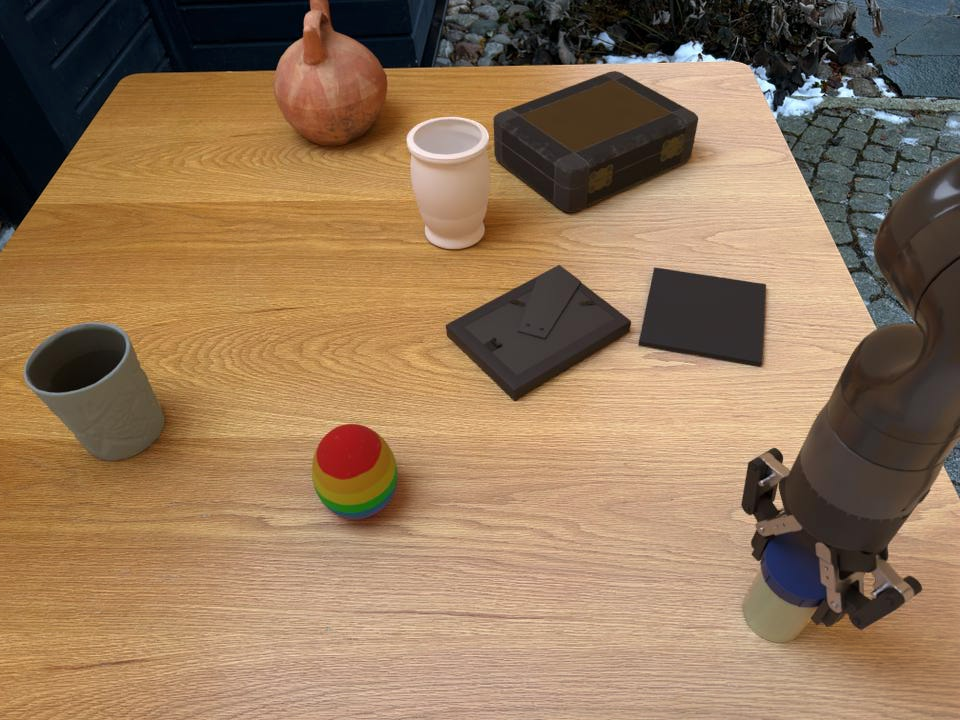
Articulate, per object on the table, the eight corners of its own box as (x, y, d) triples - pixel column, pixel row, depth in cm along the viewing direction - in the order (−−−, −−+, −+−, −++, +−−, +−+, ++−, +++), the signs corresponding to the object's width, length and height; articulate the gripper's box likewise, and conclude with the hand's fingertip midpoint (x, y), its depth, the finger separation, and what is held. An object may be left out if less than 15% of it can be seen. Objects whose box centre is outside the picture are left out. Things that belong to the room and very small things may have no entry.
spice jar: (804, 592, 67) (837, 544, 59) (803, 649, 63) (838, 605, 56) (744, 578, 68) (769, 529, 61) (740, 634, 64) (766, 588, 57)
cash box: (609, 109, 127) (613, 65, 122) (695, 160, 115) (704, 114, 110) (487, 157, 118) (486, 111, 113) (567, 218, 106) (570, 171, 101)
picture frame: (558, 276, 98) (446, 335, 91) (558, 262, 96) (445, 322, 89) (629, 332, 90) (514, 401, 83) (631, 318, 89) (514, 388, 82)
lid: (798, 526, 62) (803, 517, 61) (854, 583, 58) (861, 575, 57) (744, 560, 60) (749, 551, 59) (799, 622, 57) (805, 613, 55)
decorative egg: (323, 465, 78) (304, 404, 71) (401, 459, 79) (389, 397, 71) (317, 534, 73) (295, 475, 65) (401, 527, 73) (388, 468, 66)
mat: (764, 288, 95) (766, 283, 94) (760, 367, 86) (762, 362, 85) (653, 271, 98) (654, 267, 97) (638, 345, 89) (639, 341, 88)
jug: (386, 156, 120) (368, 30, 105) (275, 159, 120) (241, 35, 106) (396, 100, 132) (381, -19, 118) (295, 103, 133) (268, -15, 118)
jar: (402, 239, 105) (389, 143, 94) (446, 202, 110) (438, 108, 99) (464, 265, 100) (457, 167, 89) (506, 225, 106) (505, 129, 95)
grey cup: (181, 440, 81) (140, 366, 73) (86, 483, 78) (31, 410, 69) (155, 383, 87) (115, 307, 79) (66, 420, 84) (14, 346, 75)
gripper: (739, 415, 51) (696, 538, 64) (918, 583, 43) (828, 687, 55) (818, 372, 54) (761, 498, 66) (1002, 523, 45) (897, 635, 57)
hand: (792, 584), depth 61 cm, fingers closed on lid, 5 cm apart
